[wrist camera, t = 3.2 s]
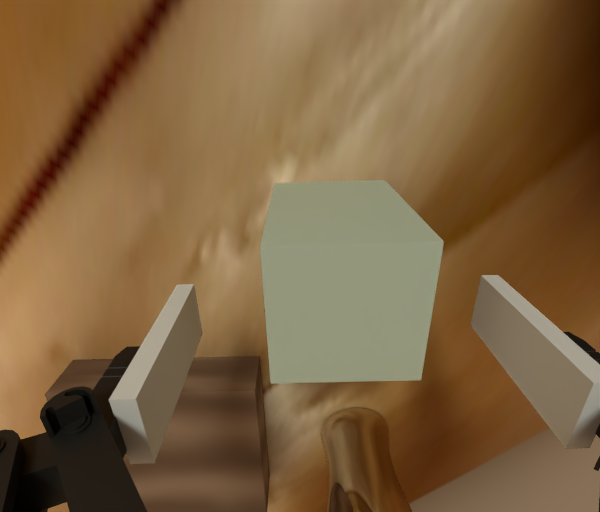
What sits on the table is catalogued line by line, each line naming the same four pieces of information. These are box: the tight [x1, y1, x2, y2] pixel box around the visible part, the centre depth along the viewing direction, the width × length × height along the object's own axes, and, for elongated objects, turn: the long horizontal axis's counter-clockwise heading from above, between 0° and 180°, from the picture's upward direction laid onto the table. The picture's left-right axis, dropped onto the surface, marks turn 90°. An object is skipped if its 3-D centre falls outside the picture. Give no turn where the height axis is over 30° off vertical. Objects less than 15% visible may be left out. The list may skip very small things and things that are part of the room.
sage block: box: [260, 180, 444, 384], centre depth 20 cm, size 7×7×10 cm
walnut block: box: [45, 356, 270, 512], centre depth 30 cm, size 15×15×4 cm
